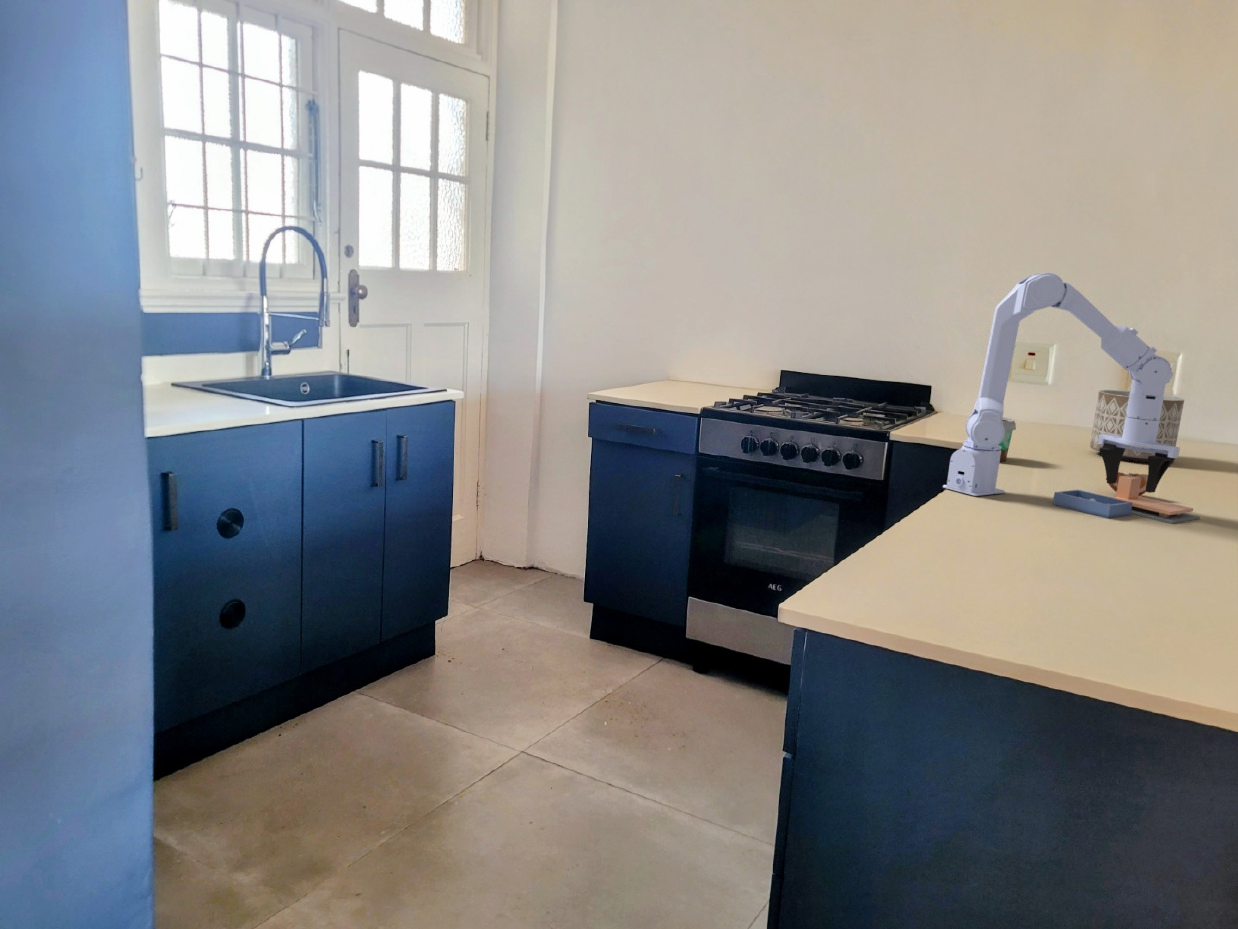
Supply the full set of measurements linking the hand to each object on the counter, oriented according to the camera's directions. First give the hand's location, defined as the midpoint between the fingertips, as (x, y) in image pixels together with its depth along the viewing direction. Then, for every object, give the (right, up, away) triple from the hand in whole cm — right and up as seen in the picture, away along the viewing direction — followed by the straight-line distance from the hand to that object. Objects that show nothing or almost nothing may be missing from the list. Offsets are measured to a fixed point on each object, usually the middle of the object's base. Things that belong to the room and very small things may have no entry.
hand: (1130, 487), depth 182 cm
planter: (+34, +6, +62) cm, 71 cm away
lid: (+2, -3, -3) cm, 5 cm away
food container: (-7, +5, +46) cm, 47 cm away
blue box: (-9, -4, -4) cm, 11 cm away
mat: (+2, -5, -3) cm, 6 cm away
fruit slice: (+6, -2, +12) cm, 13 cm away
